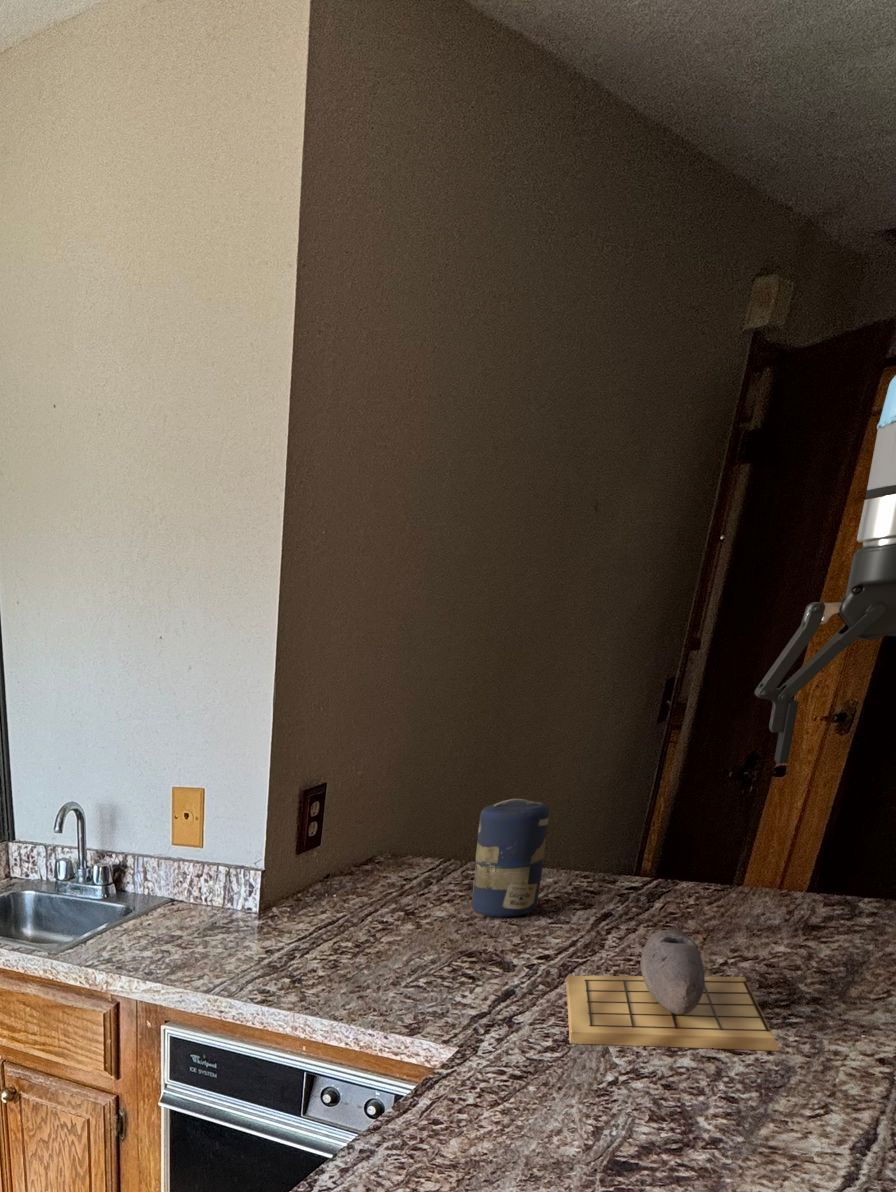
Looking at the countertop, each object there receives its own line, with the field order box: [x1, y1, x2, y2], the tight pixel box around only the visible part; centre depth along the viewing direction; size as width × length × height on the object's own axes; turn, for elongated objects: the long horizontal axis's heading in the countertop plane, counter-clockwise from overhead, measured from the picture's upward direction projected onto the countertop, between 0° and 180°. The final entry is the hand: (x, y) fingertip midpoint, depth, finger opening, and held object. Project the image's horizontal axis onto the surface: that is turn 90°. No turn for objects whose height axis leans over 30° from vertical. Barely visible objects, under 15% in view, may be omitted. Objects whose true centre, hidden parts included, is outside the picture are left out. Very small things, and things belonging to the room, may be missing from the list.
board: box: [565, 975, 782, 1052], centre depth 117 cm, size 20×20×2 cm
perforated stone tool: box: [639, 929, 706, 1015], centre depth 115 cm, size 15×5×7 cm, turn 155°
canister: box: [471, 797, 550, 918], centre depth 157 cm, size 10×10×18 cm
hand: (857, 754), depth 112 cm, fingers open, 13 cm apart
